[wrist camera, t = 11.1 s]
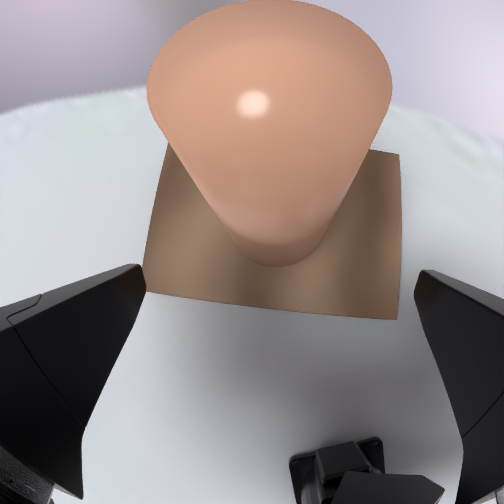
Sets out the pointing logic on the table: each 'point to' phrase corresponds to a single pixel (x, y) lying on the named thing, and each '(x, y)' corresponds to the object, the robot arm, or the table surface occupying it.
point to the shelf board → (286, 277)
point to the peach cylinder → (271, 117)
